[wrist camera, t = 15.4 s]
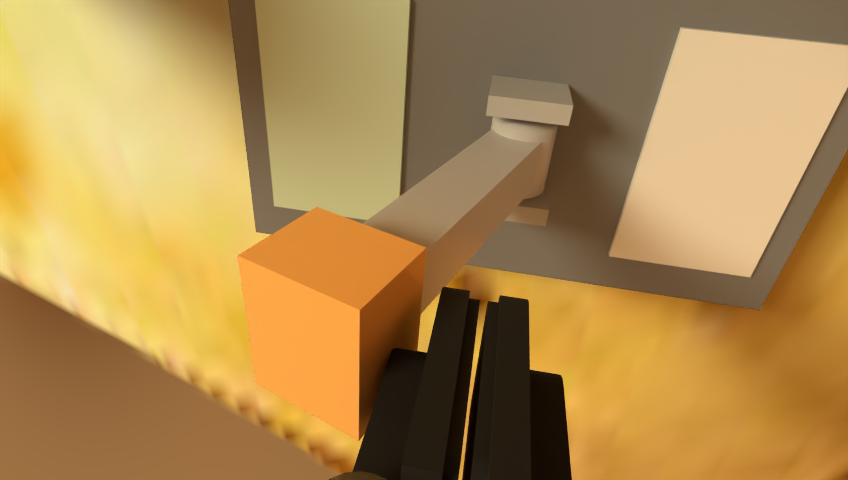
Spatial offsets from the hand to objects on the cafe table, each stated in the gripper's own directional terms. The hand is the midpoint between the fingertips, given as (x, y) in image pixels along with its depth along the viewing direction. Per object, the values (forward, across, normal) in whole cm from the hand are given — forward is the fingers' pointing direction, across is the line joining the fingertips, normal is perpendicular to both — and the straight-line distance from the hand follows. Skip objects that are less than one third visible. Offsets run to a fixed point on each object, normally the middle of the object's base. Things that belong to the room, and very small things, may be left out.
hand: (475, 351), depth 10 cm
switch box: (+13, -1, -1) cm, 14 cm away
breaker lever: (+8, -1, -1) cm, 8 cm away
